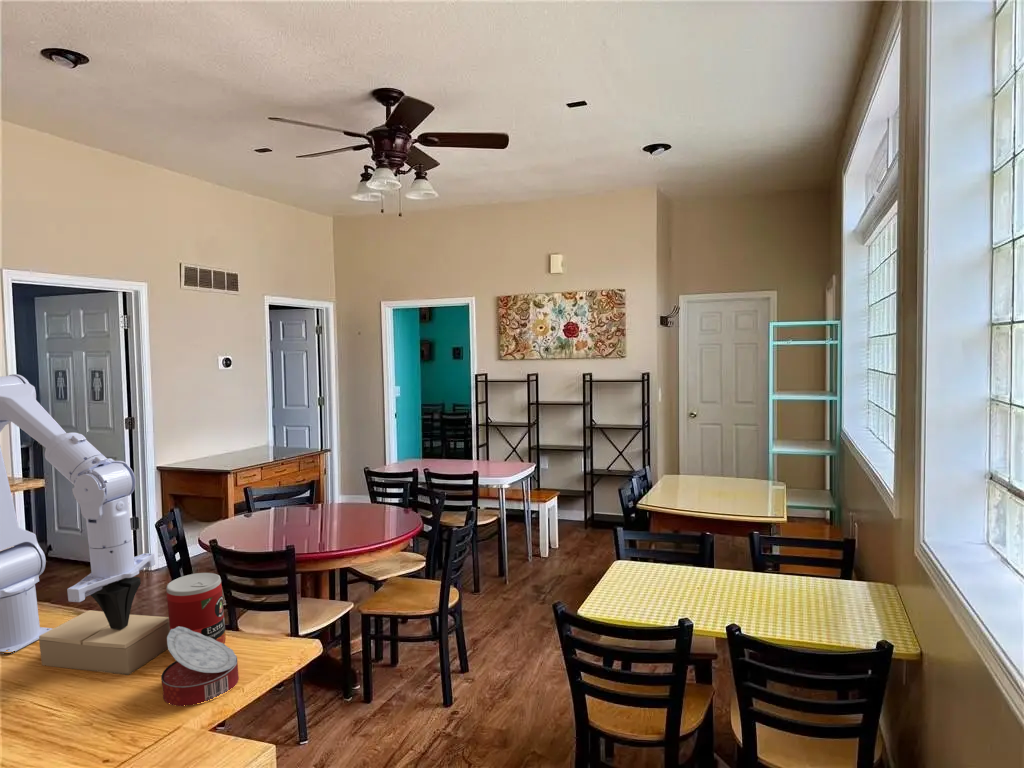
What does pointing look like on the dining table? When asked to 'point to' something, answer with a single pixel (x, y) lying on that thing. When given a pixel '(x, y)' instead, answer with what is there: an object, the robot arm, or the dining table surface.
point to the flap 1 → (78, 628)
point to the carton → (105, 654)
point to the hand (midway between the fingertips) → (119, 627)
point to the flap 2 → (127, 632)
